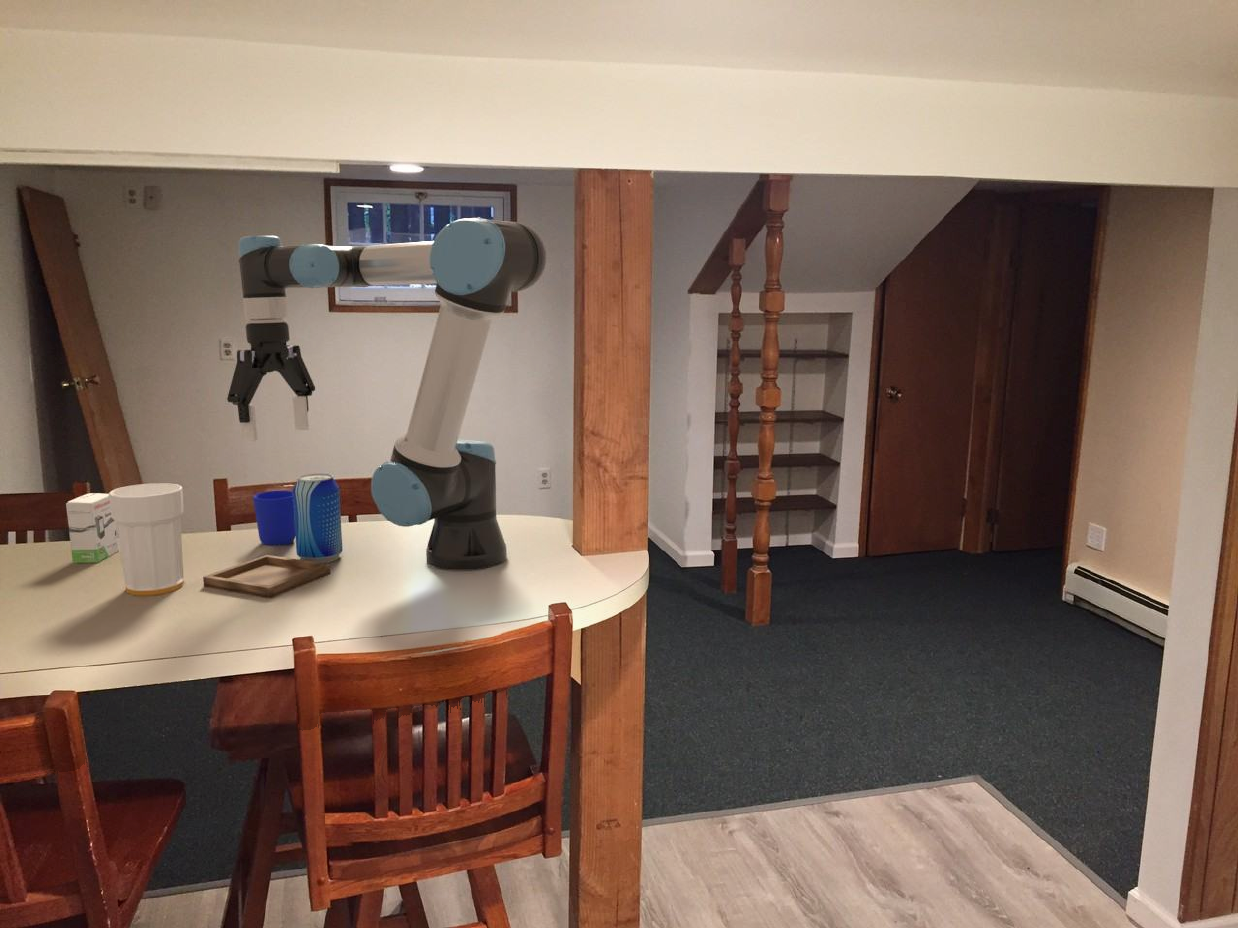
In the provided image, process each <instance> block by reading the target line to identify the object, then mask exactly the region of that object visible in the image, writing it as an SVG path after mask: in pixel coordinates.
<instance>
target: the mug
mask: <svg viewBox="0 0 1238 928" xmlns="http://www.w3.org/2000/svg"><path fill="white" fill-rule="evenodd" d="M252 499H253V505H254V512H255V513H254V514H255V518H256V527H257V531H258V537H259V540H260V542H261V544H263V545H265V546H271V547H279V546H285V545H288V544H291V543H293V542H295V540H296V536H295V521H294V506H293V490H269V491H268V490H267V491H262V492H258V493H256V494H254V495H253V496H252Z"/></svg>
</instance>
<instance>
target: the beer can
mask: <svg viewBox="0 0 1238 928" xmlns="http://www.w3.org/2000/svg"><path fill="white" fill-rule="evenodd" d="M292 491H293V506H294V521H295V546H296V547H295V549H296V550H295V551H296V555H297V556H298V558H300V560H305V561H311V562H318V563H324V564H327V563H331V562H333V561H337V559H339V557H340V555H341V554H342V552H343V537H342V536H343V535H342V532H343V531H342V518H341V517H342V515H341V500H340V499H341V498H340V486H339V485H338V483H337V482H336V481H335V479H334V475H333V474H331V473H323V472H320V473H319V472H318V473H314V472H313V473H308V474H307V473H306V474H301V475H299V476H297V477H296V483H295V484H294V486H293V488H292Z"/></svg>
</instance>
